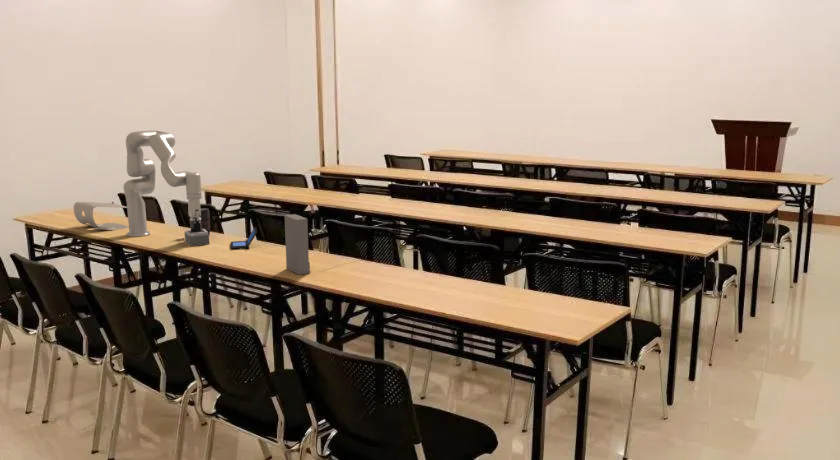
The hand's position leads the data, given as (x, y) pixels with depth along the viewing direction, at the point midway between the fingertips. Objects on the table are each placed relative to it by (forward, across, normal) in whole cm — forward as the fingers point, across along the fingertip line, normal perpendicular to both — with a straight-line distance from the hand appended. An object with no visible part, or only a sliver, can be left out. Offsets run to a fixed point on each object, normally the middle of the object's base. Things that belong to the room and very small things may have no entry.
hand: (196, 229), depth 385 cm
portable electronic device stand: (+8, -71, -40) cm, 82 cm away
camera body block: (+7, 0, 0) cm, 7 cm away
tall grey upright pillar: (+7, +85, +28) cm, 90 cm away
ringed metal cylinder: (+1, 0, 0) cm, 1 cm away
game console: (+8, +21, +20) cm, 30 cm away
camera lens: (+8, -18, +7) cm, 21 cm away
